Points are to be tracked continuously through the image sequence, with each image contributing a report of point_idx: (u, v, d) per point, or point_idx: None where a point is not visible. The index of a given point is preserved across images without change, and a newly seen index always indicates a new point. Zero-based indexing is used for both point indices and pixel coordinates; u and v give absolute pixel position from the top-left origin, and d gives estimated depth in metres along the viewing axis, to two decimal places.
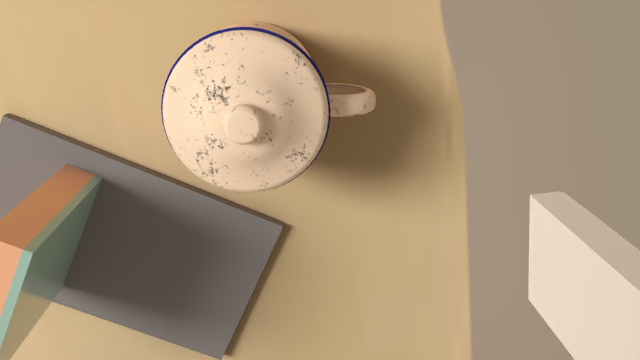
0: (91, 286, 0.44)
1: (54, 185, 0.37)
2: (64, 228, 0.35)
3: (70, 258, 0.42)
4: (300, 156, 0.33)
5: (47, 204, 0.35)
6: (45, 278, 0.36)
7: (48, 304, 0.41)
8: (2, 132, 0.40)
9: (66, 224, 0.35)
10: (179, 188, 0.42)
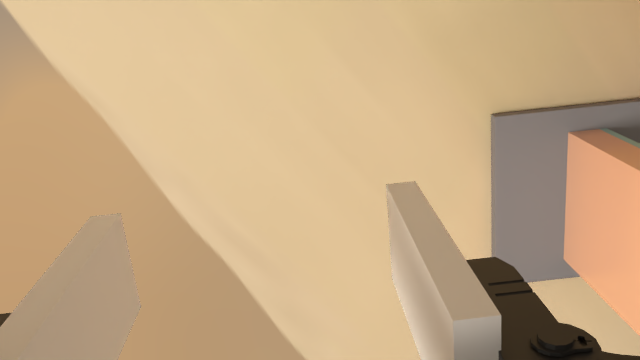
0: None
1: (608, 147, 0.35)
2: None
3: None
4: None
5: None
6: None
7: None
8: (499, 132, 0.38)
9: None
10: None
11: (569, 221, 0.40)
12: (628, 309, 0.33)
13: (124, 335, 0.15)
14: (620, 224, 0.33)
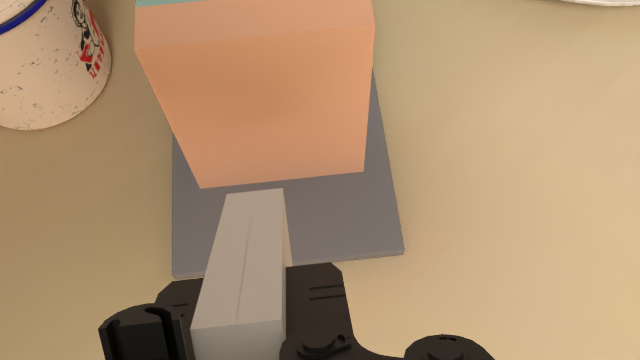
0: None
1: None
2: None
3: None
4: None
5: None
6: None
7: None
8: (192, 266, 0.31)
9: None
10: None
11: (307, 171, 0.33)
12: (349, 86, 0.26)
13: None
14: (248, 114, 0.27)
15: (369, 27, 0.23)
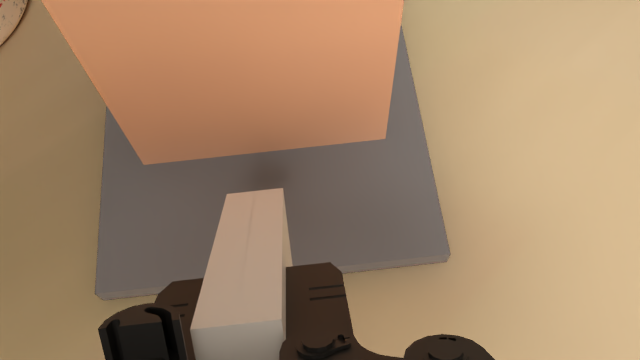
0: None
1: None
2: None
3: None
4: None
5: None
6: None
7: None
8: (127, 281, 0.20)
9: None
10: None
11: (301, 138, 0.22)
12: None
13: None
14: (201, 32, 0.16)
15: None
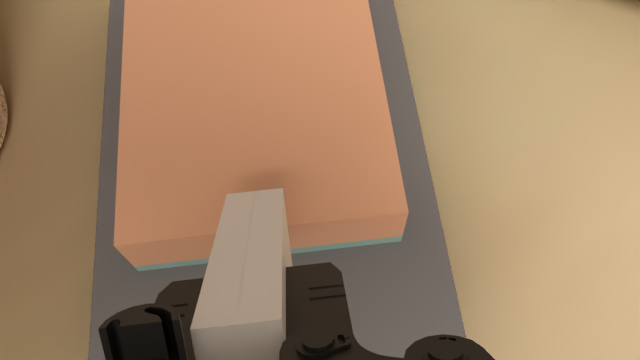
0: None
1: None
2: None
3: None
4: None
5: None
6: None
7: None
8: None
9: None
10: (106, 150, 0.23)
11: (305, 203, 0.19)
12: (344, 9, 0.22)
13: None
14: (222, 53, 0.21)
15: None
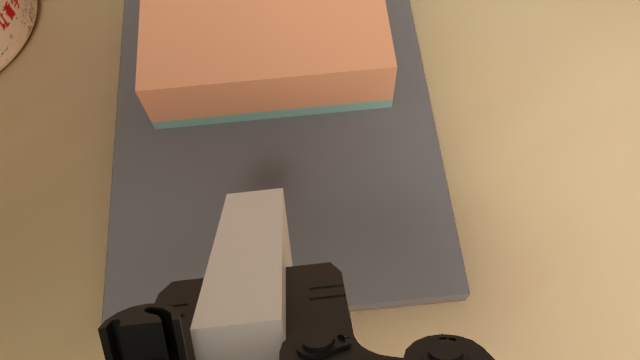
0: None
1: None
2: None
3: None
4: None
5: None
6: None
7: None
8: None
9: None
10: (126, 31, 0.25)
11: (306, 59, 0.21)
12: None
13: None
14: None
15: None
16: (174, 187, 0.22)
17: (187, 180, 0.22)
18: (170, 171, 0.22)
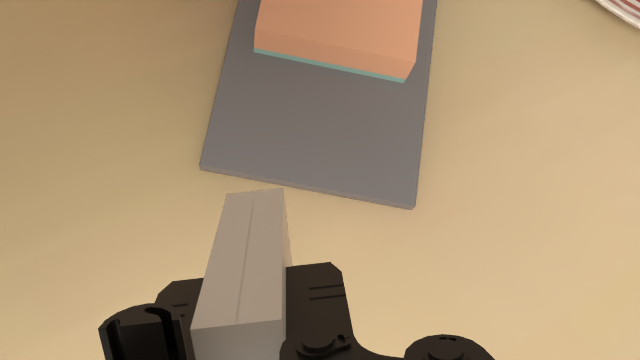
0: None
1: None
2: None
3: None
4: None
5: None
6: None
7: None
8: (220, 163, 0.33)
9: None
10: None
11: (362, 40, 0.33)
12: None
13: None
14: None
15: None
16: (258, 93, 0.34)
17: (267, 90, 0.34)
18: (257, 82, 0.34)
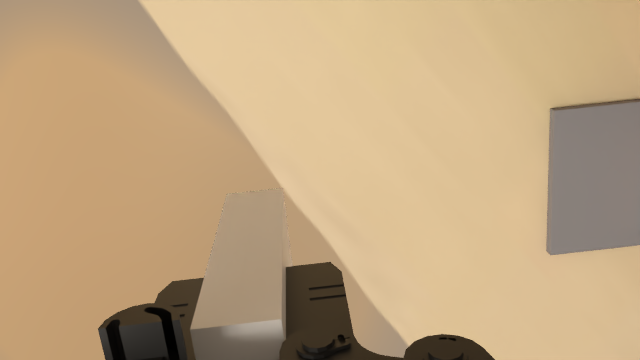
0: None
1: None
2: None
3: None
4: None
5: None
6: None
7: None
8: (558, 124, 0.46)
9: None
10: None
11: None
12: None
13: None
14: None
15: None
16: (616, 133, 0.46)
17: (619, 138, 0.46)
18: (625, 130, 0.46)
